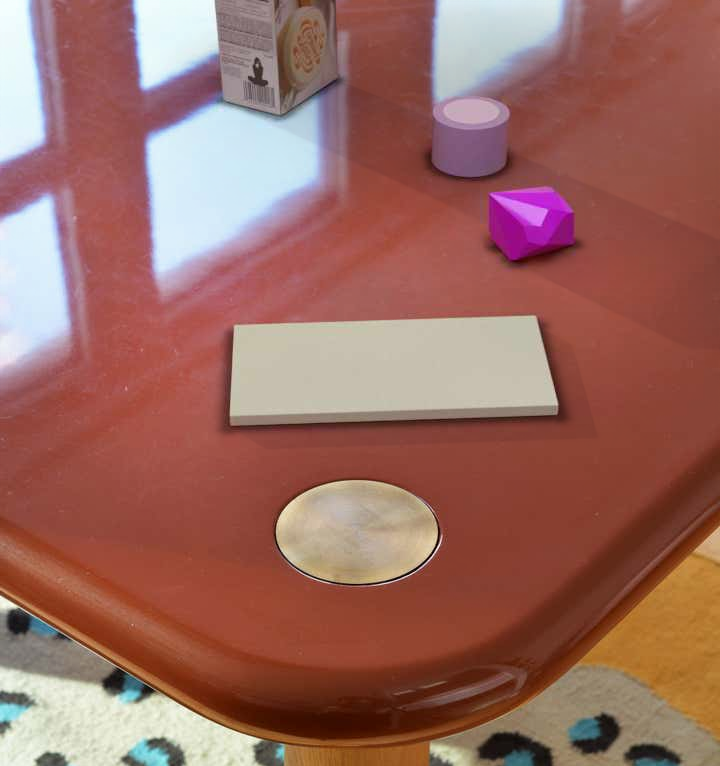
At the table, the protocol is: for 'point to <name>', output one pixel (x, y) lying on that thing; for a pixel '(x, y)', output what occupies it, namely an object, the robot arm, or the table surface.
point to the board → (389, 371)
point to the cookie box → (275, 51)
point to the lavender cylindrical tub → (470, 136)
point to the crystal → (530, 221)
